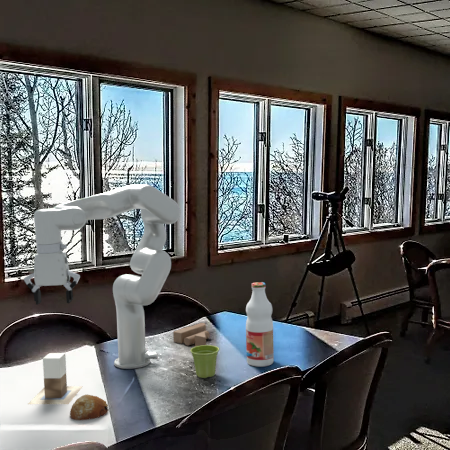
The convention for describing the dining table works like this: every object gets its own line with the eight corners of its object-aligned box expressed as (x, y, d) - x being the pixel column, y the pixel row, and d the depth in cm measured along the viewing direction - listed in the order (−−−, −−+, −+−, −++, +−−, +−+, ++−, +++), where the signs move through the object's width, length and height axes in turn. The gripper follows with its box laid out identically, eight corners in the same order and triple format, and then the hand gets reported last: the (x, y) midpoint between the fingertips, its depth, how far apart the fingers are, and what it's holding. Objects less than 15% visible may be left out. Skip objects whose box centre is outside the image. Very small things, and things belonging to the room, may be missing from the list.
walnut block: (67, 391, 176) (66, 372, 175) (61, 398, 171) (60, 378, 170) (51, 391, 176) (49, 372, 175) (44, 398, 171) (43, 378, 170)
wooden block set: (171, 329, 228) (201, 319, 242) (171, 343, 229) (201, 333, 243) (203, 335, 218) (233, 325, 232) (204, 350, 218) (233, 339, 232)
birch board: (83, 390, 180) (83, 386, 180) (68, 408, 166) (68, 404, 166) (45, 390, 181) (45, 386, 181) (27, 408, 167) (27, 404, 167)
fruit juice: (276, 366, 198) (275, 285, 195) (249, 368, 196) (247, 286, 194) (270, 357, 207) (268, 280, 204) (244, 359, 205) (242, 281, 203)
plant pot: (213, 381, 185) (212, 354, 184) (186, 378, 188) (185, 352, 187) (223, 371, 193) (223, 346, 193) (197, 369, 197) (197, 344, 196)
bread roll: (81, 422, 165) (67, 398, 164) (113, 405, 165) (100, 381, 165) (75, 438, 155) (61, 413, 154) (109, 420, 156) (95, 395, 155)
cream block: (66, 372, 175) (65, 353, 175) (60, 378, 170) (59, 358, 170) (50, 372, 175) (49, 353, 175) (43, 378, 171) (42, 358, 170)
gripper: (80, 245, 183) (84, 298, 185) (26, 248, 183) (30, 301, 185) (74, 249, 175) (78, 304, 177) (17, 252, 176) (22, 307, 178)
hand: (54, 302), depth 181 cm, fingers open, 9 cm apart
